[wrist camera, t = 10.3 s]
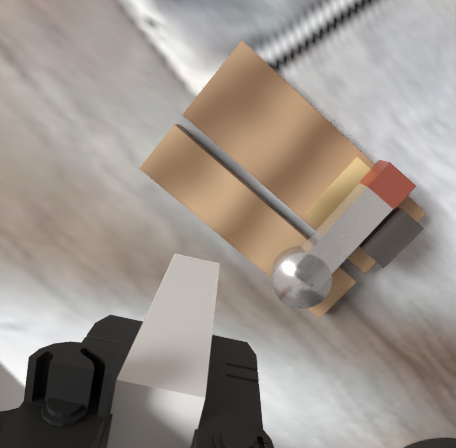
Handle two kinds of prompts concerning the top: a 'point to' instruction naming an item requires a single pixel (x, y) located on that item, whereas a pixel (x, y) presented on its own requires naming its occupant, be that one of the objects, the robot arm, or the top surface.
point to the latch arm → (338, 237)
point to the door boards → (271, 170)
